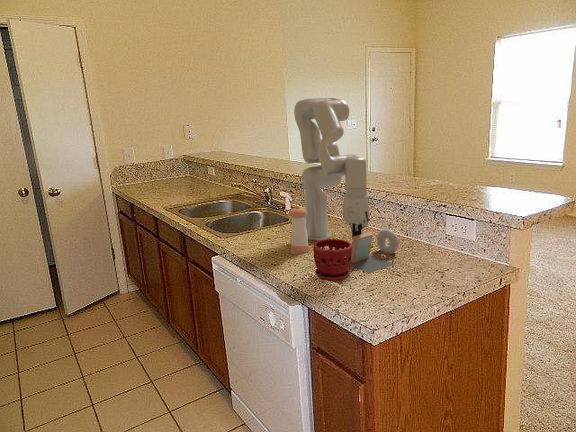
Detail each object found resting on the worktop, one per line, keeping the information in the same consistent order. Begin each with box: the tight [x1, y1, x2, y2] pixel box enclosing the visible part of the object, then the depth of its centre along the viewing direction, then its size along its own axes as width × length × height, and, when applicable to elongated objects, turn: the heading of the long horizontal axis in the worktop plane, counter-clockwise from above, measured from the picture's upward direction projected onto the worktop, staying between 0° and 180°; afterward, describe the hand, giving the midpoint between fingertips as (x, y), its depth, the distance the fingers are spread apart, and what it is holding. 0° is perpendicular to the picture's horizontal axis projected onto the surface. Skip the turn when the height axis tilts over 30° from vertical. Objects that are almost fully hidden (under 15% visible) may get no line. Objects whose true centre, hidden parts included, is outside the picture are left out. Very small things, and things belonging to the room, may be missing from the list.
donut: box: [376, 228, 400, 255], centre depth 170 cm, size 10×4×10 cm, turn 35°
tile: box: [351, 231, 374, 263], centre depth 162 cm, size 2×8×10 cm, turn 124°
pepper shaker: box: [288, 205, 310, 256], centre depth 176 cm, size 7×7×19 cm
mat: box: [349, 254, 396, 274], centre depth 161 cm, size 16×13×1 cm
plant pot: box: [312, 238, 352, 282], centre depth 150 cm, size 13×13×12 cm
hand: (357, 240), depth 163 cm, fingers closed
